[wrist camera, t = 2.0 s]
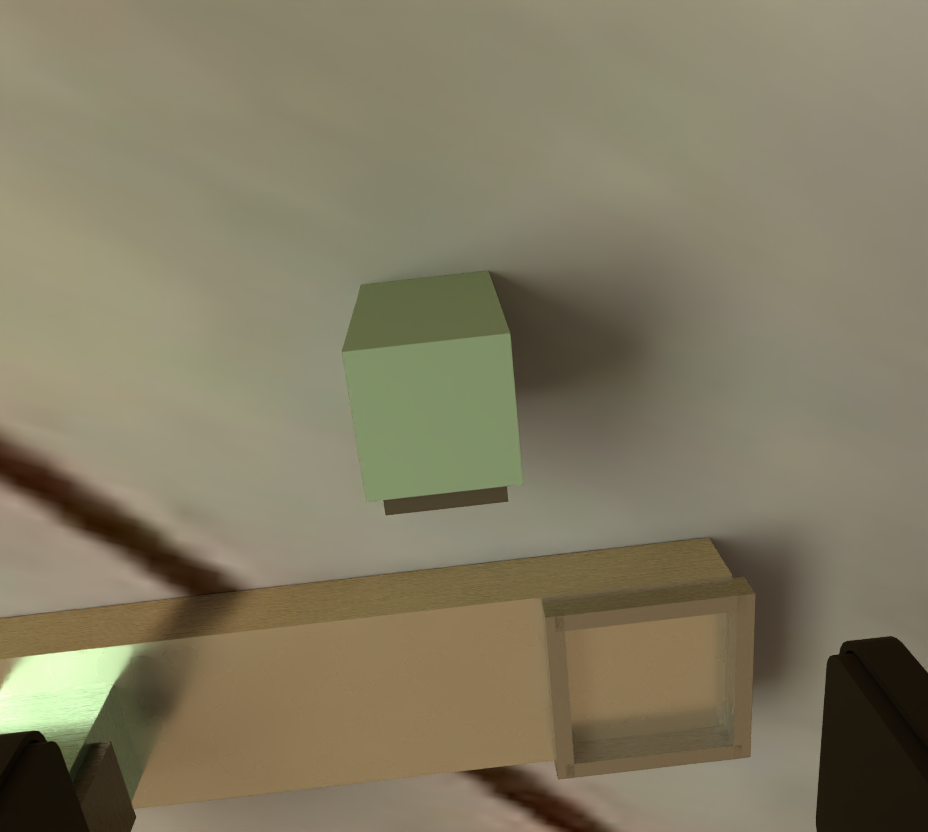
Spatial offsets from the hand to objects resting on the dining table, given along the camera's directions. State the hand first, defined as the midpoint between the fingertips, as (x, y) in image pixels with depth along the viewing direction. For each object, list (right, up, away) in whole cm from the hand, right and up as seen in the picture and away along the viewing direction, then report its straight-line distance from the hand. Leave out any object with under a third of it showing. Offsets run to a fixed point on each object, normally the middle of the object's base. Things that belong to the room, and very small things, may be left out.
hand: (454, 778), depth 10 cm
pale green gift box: (-1, +7, +17) cm, 18 cm away
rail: (-4, -5, +21) cm, 22 cm away
